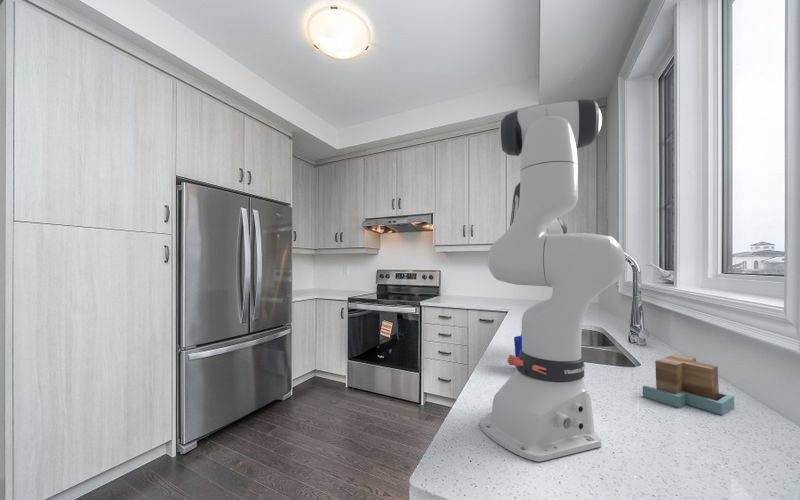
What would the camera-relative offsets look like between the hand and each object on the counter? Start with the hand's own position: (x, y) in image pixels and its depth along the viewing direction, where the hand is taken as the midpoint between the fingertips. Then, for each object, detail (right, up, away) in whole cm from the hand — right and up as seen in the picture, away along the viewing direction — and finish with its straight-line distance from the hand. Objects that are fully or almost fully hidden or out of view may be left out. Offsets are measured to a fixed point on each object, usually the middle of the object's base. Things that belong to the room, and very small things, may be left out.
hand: (578, 298), depth 96 cm
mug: (-16, -22, -5) cm, 28 cm away
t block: (+15, -21, -22) cm, 34 cm away
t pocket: (+14, -21, -22) cm, 34 cm away
